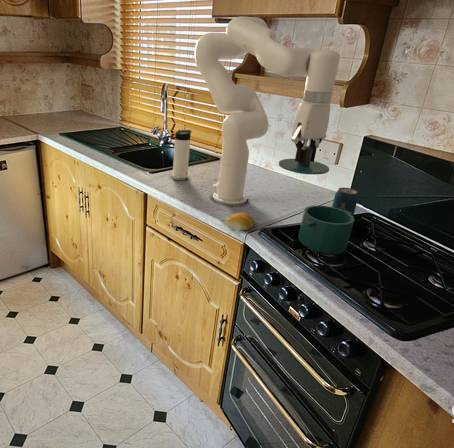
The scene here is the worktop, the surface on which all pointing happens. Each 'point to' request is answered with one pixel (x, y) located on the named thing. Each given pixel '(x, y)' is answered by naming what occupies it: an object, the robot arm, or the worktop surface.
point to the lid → (304, 165)
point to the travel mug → (181, 154)
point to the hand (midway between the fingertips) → (304, 160)
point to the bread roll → (240, 221)
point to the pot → (326, 229)
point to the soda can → (346, 199)
